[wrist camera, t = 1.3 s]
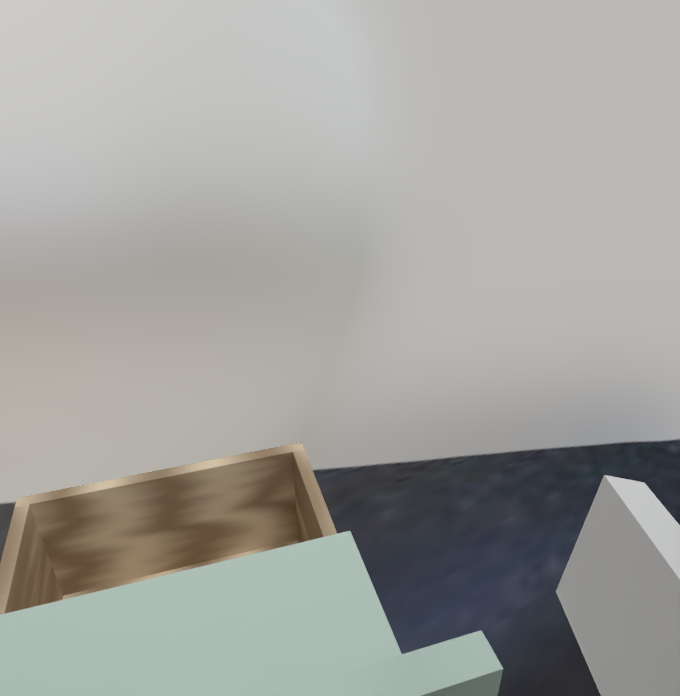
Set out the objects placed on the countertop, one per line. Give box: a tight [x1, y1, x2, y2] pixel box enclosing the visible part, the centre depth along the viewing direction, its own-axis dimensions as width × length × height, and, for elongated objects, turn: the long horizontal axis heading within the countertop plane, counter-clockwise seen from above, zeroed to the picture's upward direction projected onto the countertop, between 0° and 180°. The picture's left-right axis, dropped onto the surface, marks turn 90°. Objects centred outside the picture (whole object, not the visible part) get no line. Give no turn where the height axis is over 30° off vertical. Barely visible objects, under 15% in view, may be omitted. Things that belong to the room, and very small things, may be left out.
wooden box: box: [0, 443, 337, 615], centre depth 35 cm, size 18×12×9 cm, turn 107°
